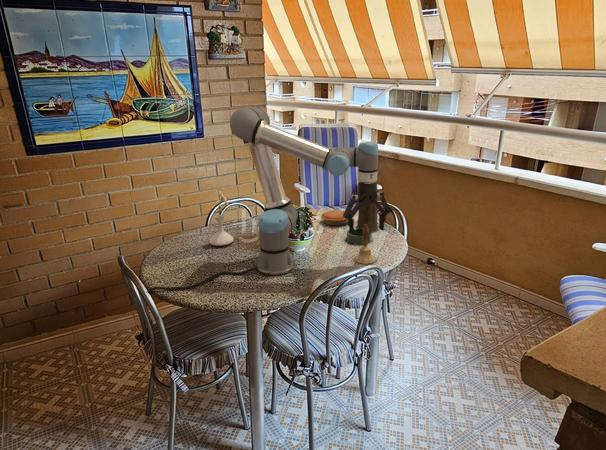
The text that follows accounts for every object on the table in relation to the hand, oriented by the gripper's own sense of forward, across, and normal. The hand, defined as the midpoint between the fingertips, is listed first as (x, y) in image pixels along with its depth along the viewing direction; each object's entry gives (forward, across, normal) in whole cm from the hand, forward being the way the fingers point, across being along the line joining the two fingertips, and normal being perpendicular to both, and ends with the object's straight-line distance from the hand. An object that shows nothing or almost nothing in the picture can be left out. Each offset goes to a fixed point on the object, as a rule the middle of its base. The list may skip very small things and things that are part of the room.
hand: (366, 231), depth 170 cm
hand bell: (+13, 0, 0) cm, 13 cm away
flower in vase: (+12, -56, +40) cm, 70 cm away
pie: (+10, +5, +50) cm, 51 cm away
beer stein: (+13, +18, +37) cm, 43 cm away
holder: (+13, +7, +22) cm, 27 cm away
